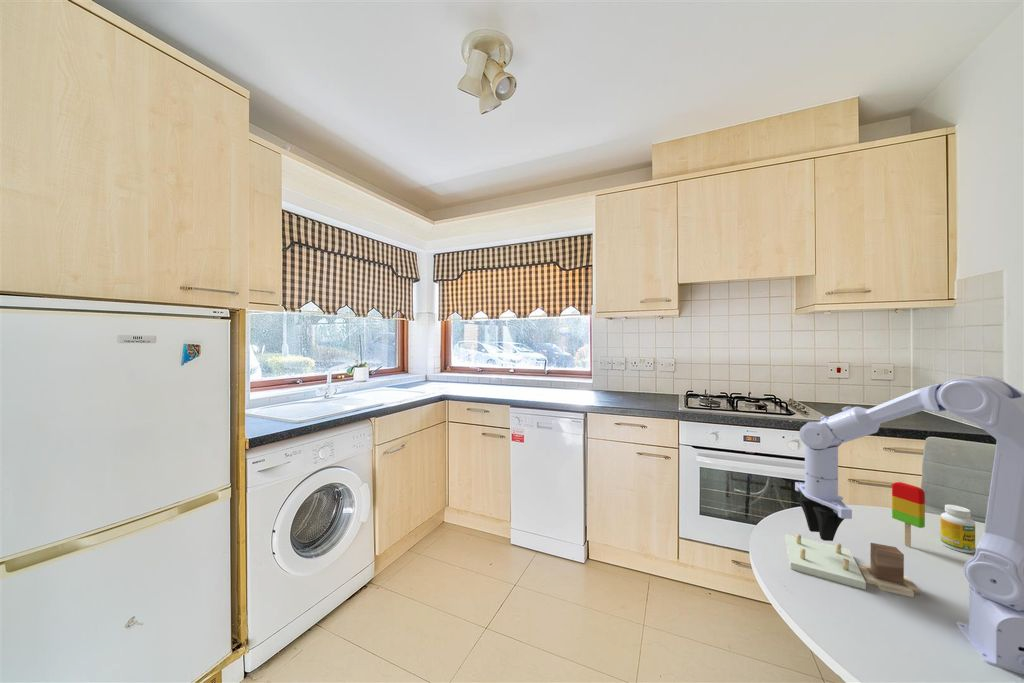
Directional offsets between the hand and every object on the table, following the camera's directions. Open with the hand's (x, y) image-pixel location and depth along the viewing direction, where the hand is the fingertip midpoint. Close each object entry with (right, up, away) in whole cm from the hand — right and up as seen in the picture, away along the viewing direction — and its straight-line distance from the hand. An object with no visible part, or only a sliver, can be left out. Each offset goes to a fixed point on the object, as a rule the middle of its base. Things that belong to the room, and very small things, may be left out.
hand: (820, 535), depth 82 cm
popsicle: (+27, -6, +6) cm, 28 cm away
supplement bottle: (+38, -6, +6) cm, 39 cm away
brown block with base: (+8, -6, -7) cm, 12 cm away
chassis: (0, -6, 0) cm, 6 cm away
